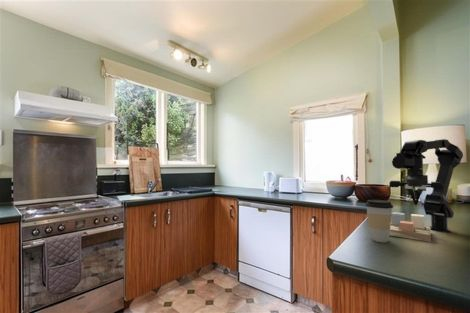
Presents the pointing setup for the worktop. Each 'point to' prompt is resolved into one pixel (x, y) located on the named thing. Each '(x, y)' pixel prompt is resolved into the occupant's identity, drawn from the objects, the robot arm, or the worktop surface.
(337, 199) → the worktop surface
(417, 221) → the cream button
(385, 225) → the coffee cup
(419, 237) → the panel
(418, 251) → the worktop surface
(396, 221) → the slate-blue button
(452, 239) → the worktop surface
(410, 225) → the salmon pink block
